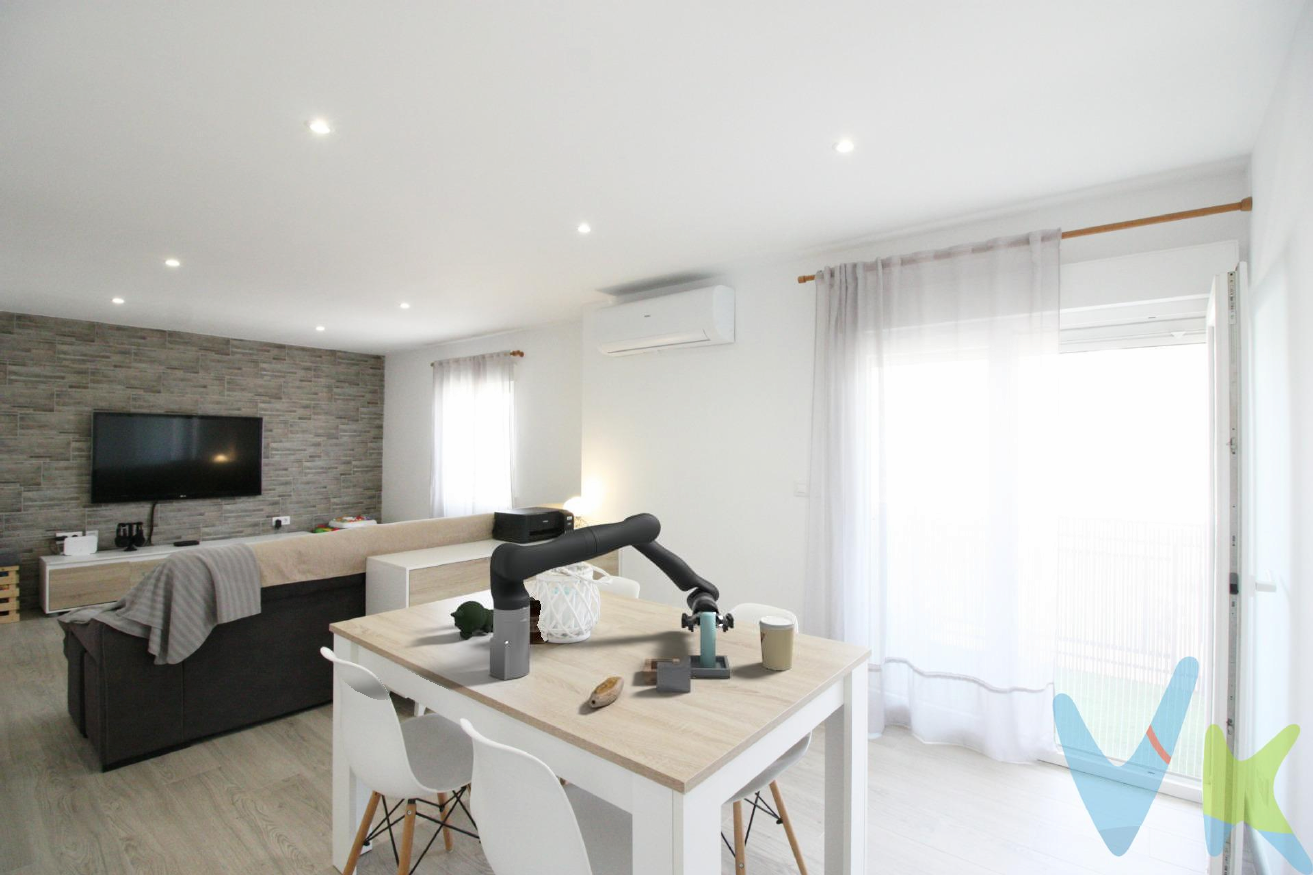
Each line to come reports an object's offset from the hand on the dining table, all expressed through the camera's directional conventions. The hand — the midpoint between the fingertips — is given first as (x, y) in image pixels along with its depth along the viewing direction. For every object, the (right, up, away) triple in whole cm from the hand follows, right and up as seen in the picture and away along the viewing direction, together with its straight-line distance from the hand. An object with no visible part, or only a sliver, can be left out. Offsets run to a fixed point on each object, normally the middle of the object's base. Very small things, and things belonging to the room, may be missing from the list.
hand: (708, 628), depth 158 cm
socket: (-12, -11, -5) cm, 17 cm away
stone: (-25, -11, -19) cm, 34 cm away
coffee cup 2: (+19, -11, +3) cm, 22 cm away
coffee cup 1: (-50, -11, +23) cm, 56 cm away
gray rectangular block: (-10, -10, -13) cm, 19 cm away
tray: (0, -11, -1) cm, 11 cm away
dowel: (0, -10, -1) cm, 10 cm away
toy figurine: (-69, -12, +31) cm, 76 cm away
